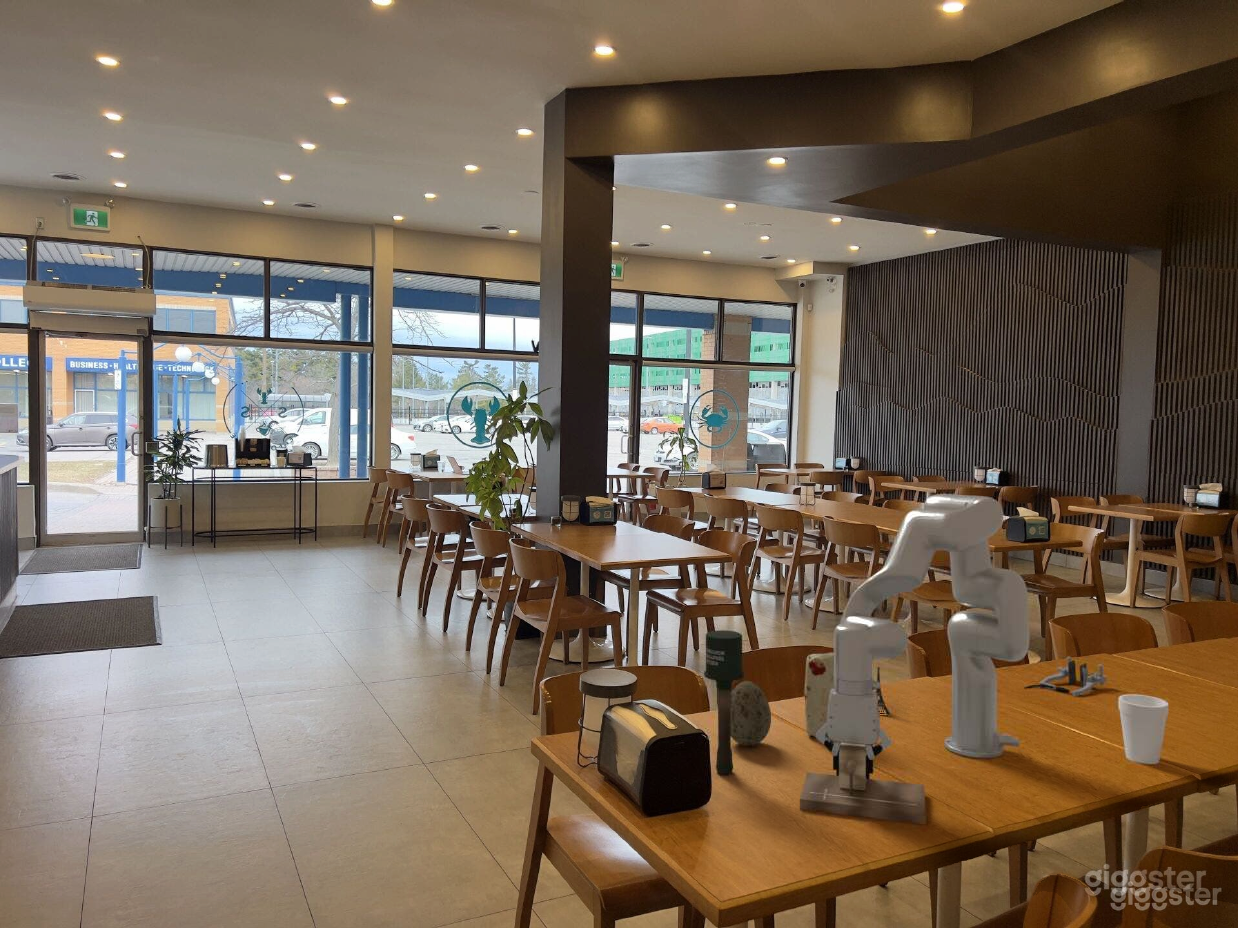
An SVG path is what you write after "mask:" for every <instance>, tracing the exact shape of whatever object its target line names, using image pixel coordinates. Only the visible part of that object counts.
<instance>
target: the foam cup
mask: <svg viewBox="0 0 1238 928" xmlns="http://www.w3.org/2000/svg"><path fill="white" fill-rule="evenodd" d="M1118 710H1119V715H1120V722H1121V729H1122V738H1123V743H1124V744H1123V745H1124V751H1125V752H1124V753H1125V758H1126V759H1127V760H1130V761H1131V762H1135V763H1138V764H1144V765H1145V764H1146V765H1157V764H1159V763H1160V758H1161V753H1162V752H1161V751H1162V746H1163V740H1164V734H1165V728H1166V723H1167V717H1168V716H1169V702H1167V701H1166V700H1164V699H1161V698H1158V697H1155V696H1149V695H1146V694H1136V693H1135V694H1123V695H1119V697H1118Z"/></svg>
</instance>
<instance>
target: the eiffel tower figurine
mask: <svg viewBox="0 0 1238 928" xmlns="http://www.w3.org/2000/svg"><path fill="white" fill-rule="evenodd" d="M877 665H878V666H877V667H876V669H877V673H876V674H877V675H876V682H880V683H881V677H880V669H881V667H880V666H879V663H878V664H877ZM881 690H882V688H881V686H880V689H875V692H876V695H877V699H878V707H879V708H881V709H883V710H885V711H886V714H887V715H886V716H889V715H891V716H892V714H891V712H890V711H889V709H888V707H887V706H886V702H885V701H884V699H883V693H882V691H881ZM879 712H880V711H879ZM881 712H882V711H881ZM883 712H884V711H883ZM879 714H885V713H879Z"/></svg>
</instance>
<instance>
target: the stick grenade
mask: <svg viewBox="0 0 1238 928" xmlns="http://www.w3.org/2000/svg"><path fill="white" fill-rule="evenodd" d="M703 675H704V676H703V677H704V678H706V679H709V680H712V681H715V683H716V686H715V687H716V705H717V745H718V746H717V750H716V762H715V763H716V765H715V769H716V772H717V773H718V774H719V775H723V776H724V775H725V776H726V775H730V774H732V773H733V770H734V763H733V751H732V747H731V746H732V745H731V743H732V742H731V739H732V737H731V710H730V709H731V704H732V691H733V689H732V688H733V682H735V681H739V680H743V678H745V671H744V670H743V635H742V633H740V632H738V631H734V630H724V629H723V630H712V631H708V632H706V634H705V671H704V672H703Z"/></svg>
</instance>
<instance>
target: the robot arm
mask: <svg viewBox="0 0 1238 928" xmlns="http://www.w3.org/2000/svg"><path fill="white" fill-rule="evenodd" d="M1003 521H1004V511H1003V508H1002V505H1001V504H1000V503H999V502H998V500H996V499H994V498H993V497H989V496H983V495H969V494H968V495H967V494H966V495H965V494H956V493H955V494H954V493H940V494H932V495H931V496H930V495H929V496H928V497H927V498H926V500H925V501H924V503H923V508H917V509H913V510H910V511H909V512H907V513H906V514H905V516H904V518H903V520H902V522H901V524H900V526H899V530H898V531H897V534H896V536H895V538H894V541H893V543H892V546H891V548H890V550H889V552H888V556H887V558H886V560H885V563H884V565H883V567H882V568H881V569H880V570H878V571H877V572H876V573H875V574H873V575H871V576H870V577H869V578H867V579H866V580H865V581H864V582H863V583H862V584H861V585H860V586H858V587H857V589H856V590H855V591H854V592H852V595H851V596H850V597H849V600H848V601H847V604H846V606H845V609H844V610H843V613H842V615H841V619H840V621H839V624H837V625H836V626H835V628H834V631H833V653H834V688H833V689H831V691H830V695H829V702H828V715H827V722H826V723H825V724H824V725H823V726H822V728H821V729H820V730H819V731H818V732H817V733H816V736H815V738H816V739H817V740H818V741H819V742H820V743H821V744H823V746H824V747H825V748H826V749H827V750H828V751H829V752H830V753H831V755H832V769H833V770H834V771H836V772H835V773H836V774H835V775H836V776H839V751H840V746H841V742H842V743H852V744H863V745H865V748H866V751H867V755H866V778H867V779H870V774H872V775H873V774H874V759H875V758H876V757H877V756H878V755H879V754H880V753H882V752H883V751H884V750H885V749H887V748H888V747H890V746H891V745H892V740H891V739H890V736H888V735H887V733H886V732H885V730H883V728H882V727H881V726H880V715H879V709H880V707H878V699H879V698H878V699H877V695H876V691H875V690H876V689H880V687H881V681H880V682H877V680H875V679H873V670H874V669H873V666H874V665H873V663H874V662H873V661H874V659H875V660H876V659H886V660H887V659H893V658H897V657H900V656H901V654H903V653H904V652H905V650H906V649H907V647H908V644H909V635H908V633H907V630H906V629H905V628H904V627H903V626H902V625H901V624H899V623H897V622H895V621H892V620H886V619H882V618H879V617H875V616H874V617H873V616H871V615H872V613H873V611H874V610H875V609H876V608H877V606H878V605H880V604H882V602H883V601H885V600H887V599H889V598H892V597H893V596H896V595H900V594H903V593H906V592H910V591H912V590H915V589H917V588H919V587H921V586H922V585H923V584H924V581H925V579H926V576H927V573H928V571H929V568H930V566H931V563H932V561H933V558H934V557H935V554H936V552H937V551H946V552H949V560H950V561H949V562H950V577H951V591H952V596H953V599H955V601H956V602H957V603H958V604H960V605H962V606H965V607H970V608H974V609H975V608H976V609H981V610H986V611H992V612H995V614H992V613H988V612H982V611H976V610H961V611H957V612H956V613H954V614H953V615H952V616H951V617H950V619H949V620H948V623H947V629H946V630H947V631H946V632H947V638H948V643H949V647H950V654H951V655H950V656H951V673H952V674H951V735H950V736H948V737H946V738H945V739H944V747H945V748H946V749H947V750H948V751H951V752H952V753H954V754H957V755H959V756H965V757H969V758H975V759H976V758H977V759H990V758H991V759H992V758H997V757H1000V756H1001V755H1003V754H1004V753H1005V751H1004V750H1005V746H1010V747H1020V738H1019V737H1013V736H1012V734H1004V733H1003V734H1002V733H1001V732H999V731H998V727H997V712H998V711H997V709H998V708H997V707H998V704H997V697H998V695H997V693H998V692H997V691H998V689H997V688H998V687H997V685H998V675H997V671H996V666H995V664H994V663H993V660H992V659H996V660H1000V661H1005V662H1018V661H1021V660H1023V659H1024V658H1025V657H1026V655H1027V653H1028V651H1029V647H1030V639H1031V638H1030V618H1029V617H1030V616H1029V614H1030V613H1029V600H1028V599H1029V597H1028V596H1029V595H1028V588H1027V585H1026V583H1025V580H1024V578H1023V577H1022V576H1021V575H1020V574H1019V573H1018V572H1016V571H1014V570H1011V569H1008V568H1007V569H1006V568H1000V567H999V568H998V567H994V566H993V565H992V561H991V553H990V543H989V540H988V539H990V538H991V537H992V536H994V535H995V534H996V533H997V532H998V531H999V529H1000V528H1001V527H1002V524H1003ZM991 658H992V659H991ZM826 733H827V736H825V734H826ZM879 739H880V740H881V741H880V742H879Z"/></svg>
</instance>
